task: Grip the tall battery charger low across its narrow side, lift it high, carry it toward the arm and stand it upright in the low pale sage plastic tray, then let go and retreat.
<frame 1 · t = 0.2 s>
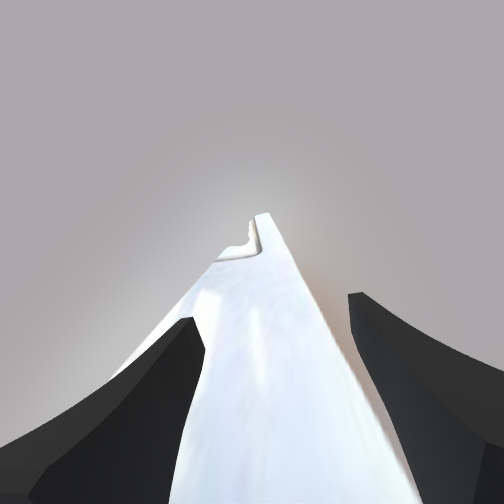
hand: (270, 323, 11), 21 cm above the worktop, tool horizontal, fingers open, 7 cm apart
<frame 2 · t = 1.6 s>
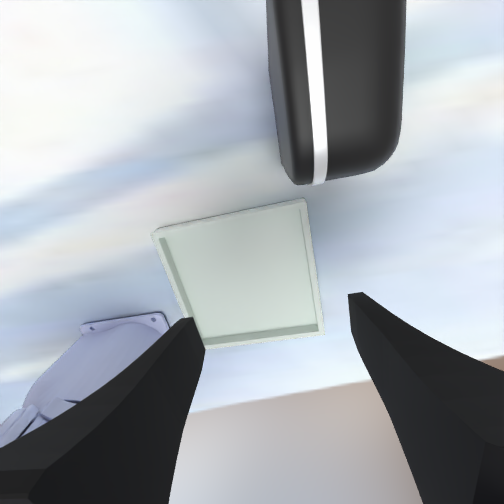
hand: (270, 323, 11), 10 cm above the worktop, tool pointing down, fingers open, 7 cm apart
battery charger: (302, 114, 17), on the worktop
tray: (245, 279, 22), on the worktop
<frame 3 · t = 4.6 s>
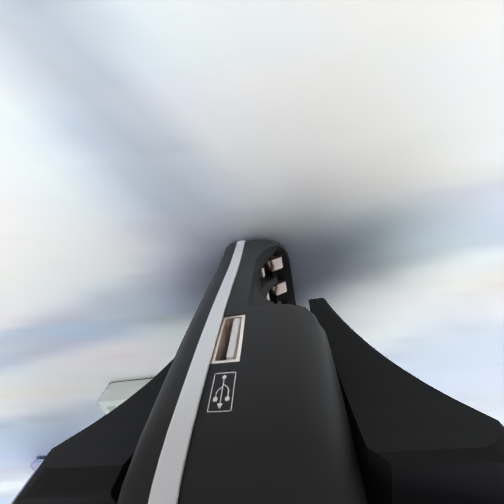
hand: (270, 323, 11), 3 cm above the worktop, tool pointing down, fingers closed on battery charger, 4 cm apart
battery charger: (271, 287, 14), on the worktop, touching gripper
tray: (213, 430, 19), on the worktop
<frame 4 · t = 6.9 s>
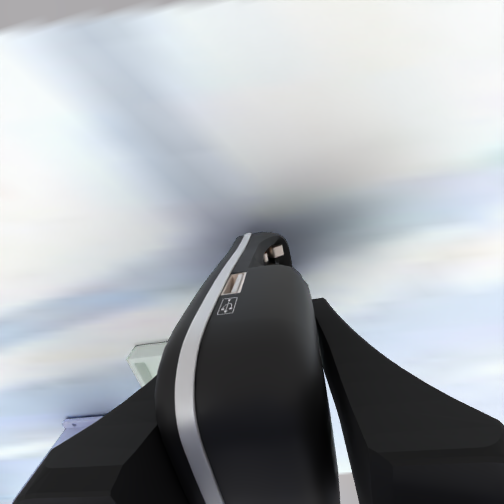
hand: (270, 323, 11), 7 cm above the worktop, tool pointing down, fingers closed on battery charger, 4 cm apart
battery charger: (275, 276, 16), point 1 cm above the worktop, touching gripper
tray: (222, 389, 23), on the worktop
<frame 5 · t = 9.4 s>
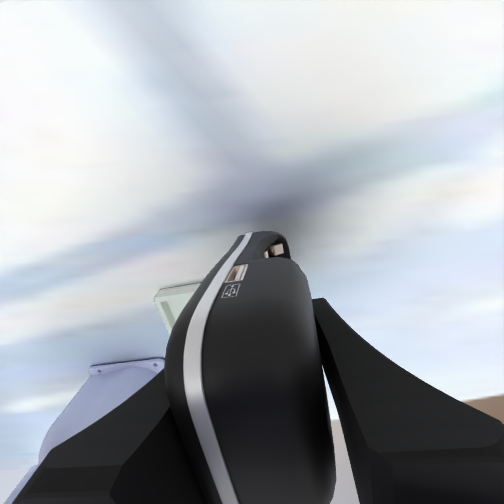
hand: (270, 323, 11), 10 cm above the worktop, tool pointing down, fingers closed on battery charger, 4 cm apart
battery charger: (275, 274, 17), point 5 cm above the worktop, touching gripper
tray: (238, 332, 25), on the worktop
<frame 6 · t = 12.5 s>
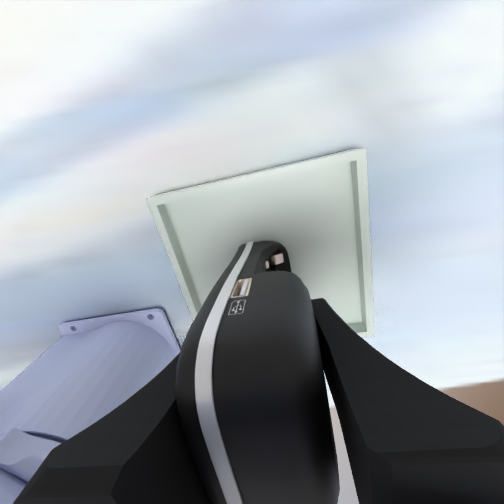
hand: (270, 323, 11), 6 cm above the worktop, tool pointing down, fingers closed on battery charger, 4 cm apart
battery charger: (275, 282, 17), point 1 cm above the worktop, touching gripper, tray
tray: (270, 263, 17), on the worktop
when the fingers open (4 cm above the worktop, at t = 14.1 s): battery charger stays where it is, resting on tray.
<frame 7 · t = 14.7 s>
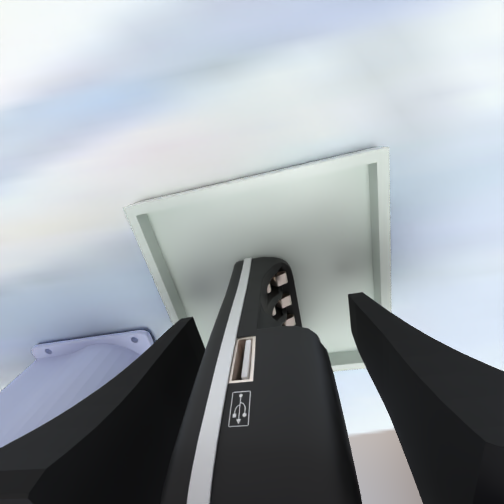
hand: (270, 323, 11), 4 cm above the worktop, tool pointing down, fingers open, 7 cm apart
battery charger: (277, 299, 15), resting on tray
tray: (270, 281, 15), on the worktop
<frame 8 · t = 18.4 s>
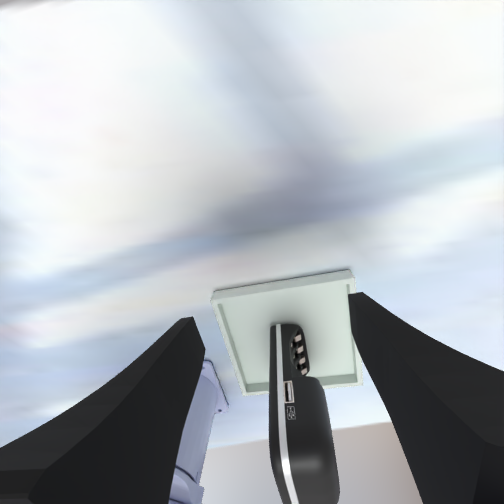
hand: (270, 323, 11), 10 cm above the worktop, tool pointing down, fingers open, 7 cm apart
battery charger: (293, 345, 24), resting on tray
tray: (290, 334, 24), on the worktop
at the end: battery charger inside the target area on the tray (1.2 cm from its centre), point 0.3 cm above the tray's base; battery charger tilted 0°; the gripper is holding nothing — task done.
